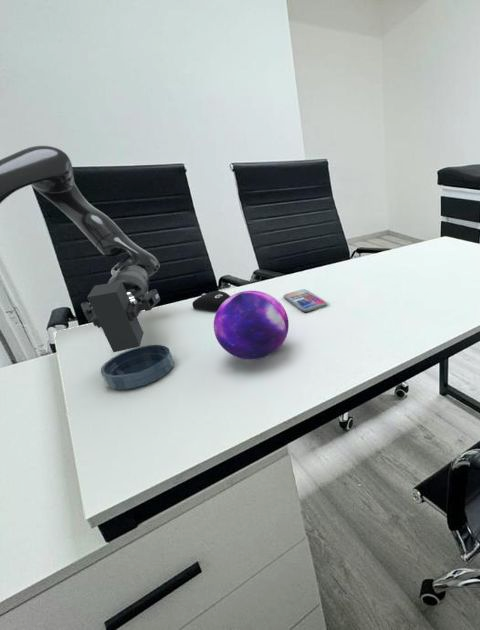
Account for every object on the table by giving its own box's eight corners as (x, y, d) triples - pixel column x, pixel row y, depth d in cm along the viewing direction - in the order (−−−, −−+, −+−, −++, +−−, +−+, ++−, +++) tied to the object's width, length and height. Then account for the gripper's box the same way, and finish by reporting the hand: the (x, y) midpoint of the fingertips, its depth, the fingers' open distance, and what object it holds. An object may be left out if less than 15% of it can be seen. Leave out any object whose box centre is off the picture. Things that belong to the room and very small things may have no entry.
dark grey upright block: (113, 352, 76) (86, 297, 70) (118, 338, 81) (94, 285, 76) (140, 346, 78) (116, 291, 72) (143, 332, 83) (121, 280, 77)
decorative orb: (242, 338, 95) (225, 281, 88) (302, 336, 94) (290, 279, 87) (211, 374, 81) (189, 310, 75) (281, 372, 81) (265, 307, 74)
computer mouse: (221, 314, 107) (217, 301, 106) (190, 309, 111) (185, 296, 110) (241, 303, 114) (238, 291, 112) (210, 299, 118) (206, 287, 116)
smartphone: (304, 288, 120) (328, 302, 109) (305, 291, 120) (328, 305, 110) (281, 294, 115) (303, 310, 105) (282, 297, 116) (304, 313, 105)
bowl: (97, 397, 76) (89, 382, 74) (120, 364, 86) (114, 351, 85) (166, 383, 79) (160, 369, 77) (180, 353, 89) (175, 340, 88)
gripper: (81, 281, 83) (58, 311, 70) (157, 268, 89) (150, 293, 75) (96, 312, 87) (77, 346, 73) (168, 297, 92) (163, 327, 79)
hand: (114, 319), depth 74 cm, fingers closed on dark grey upright block, 4 cm apart
